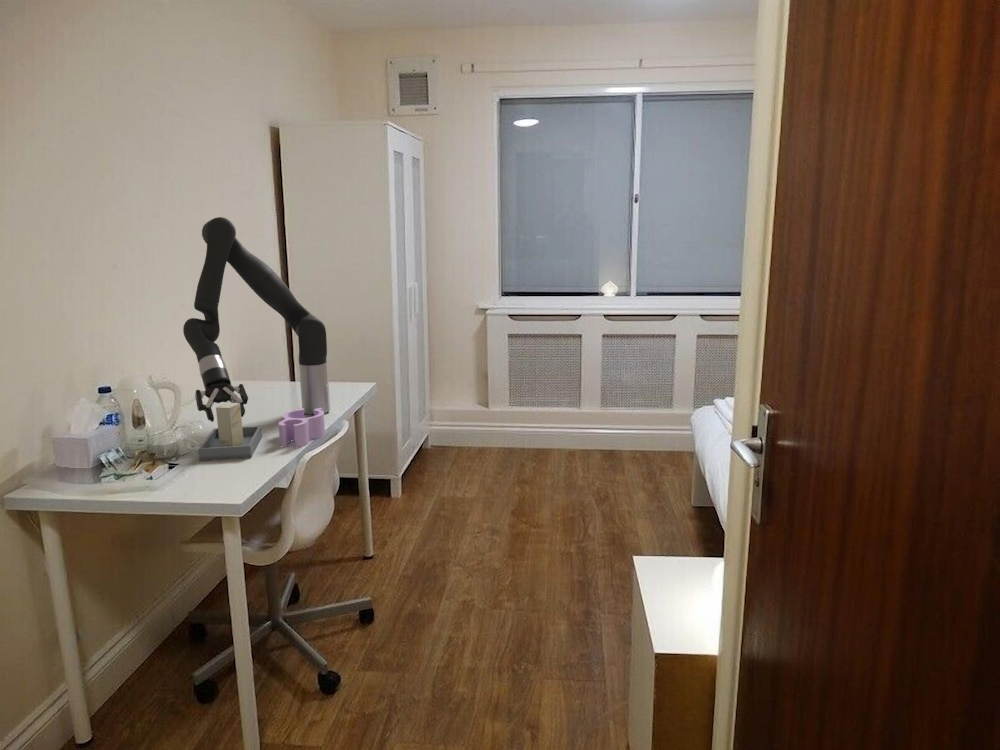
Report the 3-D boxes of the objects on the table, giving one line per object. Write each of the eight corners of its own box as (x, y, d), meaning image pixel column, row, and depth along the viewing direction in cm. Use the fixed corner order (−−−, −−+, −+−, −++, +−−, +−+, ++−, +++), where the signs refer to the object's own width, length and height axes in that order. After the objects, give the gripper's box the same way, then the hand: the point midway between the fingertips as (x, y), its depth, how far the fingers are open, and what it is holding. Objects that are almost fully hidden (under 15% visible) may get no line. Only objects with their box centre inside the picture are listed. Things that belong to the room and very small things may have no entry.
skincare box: (232, 448, 210) (229, 408, 207) (219, 447, 211) (215, 407, 208) (244, 441, 216) (240, 402, 213) (231, 441, 217) (227, 402, 214)
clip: (310, 448, 213) (309, 425, 212) (269, 447, 214) (267, 425, 213) (331, 428, 233) (330, 407, 231) (293, 428, 234) (292, 407, 232)
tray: (262, 436, 224) (261, 426, 223) (251, 457, 205) (250, 446, 204) (215, 439, 222) (213, 428, 221) (199, 461, 203) (198, 449, 202)
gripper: (190, 369, 214) (203, 415, 207) (239, 363, 222) (253, 407, 215) (188, 383, 219) (201, 428, 213) (236, 377, 227) (250, 420, 220)
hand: (227, 417), depth 214 cm, fingers open, 8 cm apart
